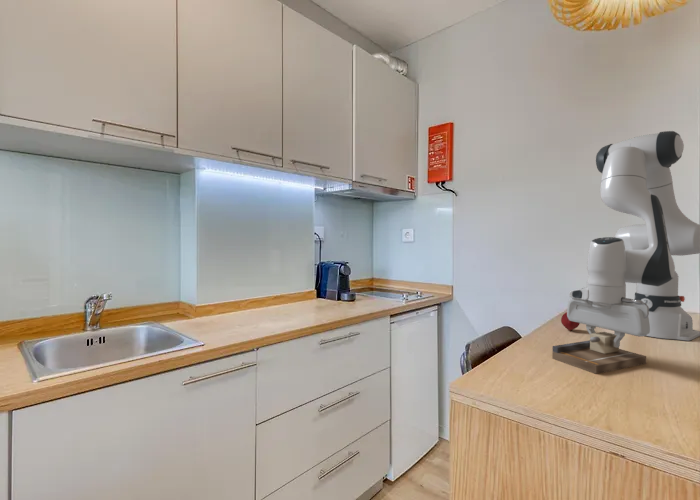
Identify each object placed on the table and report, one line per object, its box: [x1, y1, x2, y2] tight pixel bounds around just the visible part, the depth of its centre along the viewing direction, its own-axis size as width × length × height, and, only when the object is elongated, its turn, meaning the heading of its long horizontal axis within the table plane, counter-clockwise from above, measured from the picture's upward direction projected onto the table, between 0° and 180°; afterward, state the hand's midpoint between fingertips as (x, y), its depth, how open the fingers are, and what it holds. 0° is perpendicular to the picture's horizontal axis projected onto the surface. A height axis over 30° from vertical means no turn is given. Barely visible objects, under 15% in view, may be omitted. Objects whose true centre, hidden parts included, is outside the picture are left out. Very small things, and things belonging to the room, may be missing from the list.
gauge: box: [589, 331, 620, 354], centre depth 97 cm, size 10×4×4 cm, turn 111°
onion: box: [560, 311, 581, 332], centre depth 126 cm, size 6×6×8 cm
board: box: [551, 339, 647, 375], centre depth 95 cm, size 20×12×4 cm, turn 111°
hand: (604, 343), depth 97 cm, fingers closed on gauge, 4 cm apart
